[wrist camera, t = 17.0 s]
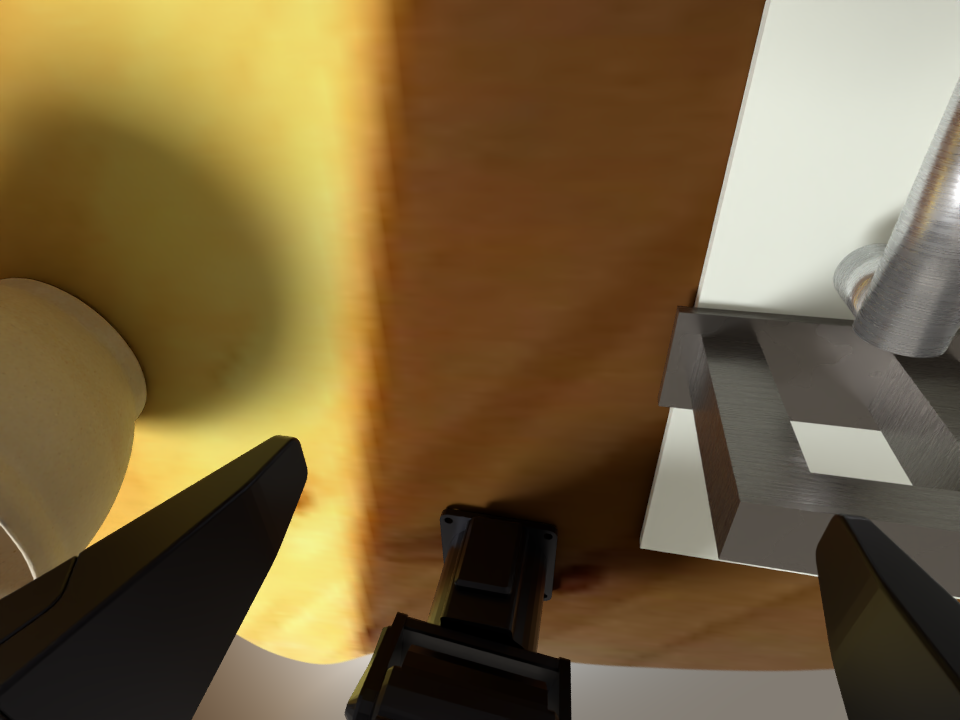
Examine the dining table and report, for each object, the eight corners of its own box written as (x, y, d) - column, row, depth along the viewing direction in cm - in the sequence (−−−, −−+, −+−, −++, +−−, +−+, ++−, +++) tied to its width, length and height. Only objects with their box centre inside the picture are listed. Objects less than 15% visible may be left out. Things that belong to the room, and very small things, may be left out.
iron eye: (938, 429, 21) (1093, 644, 14) (657, 398, 23) (674, 574, 16) (999, 331, 18) (1222, 535, 12) (677, 305, 20) (707, 468, 13)
